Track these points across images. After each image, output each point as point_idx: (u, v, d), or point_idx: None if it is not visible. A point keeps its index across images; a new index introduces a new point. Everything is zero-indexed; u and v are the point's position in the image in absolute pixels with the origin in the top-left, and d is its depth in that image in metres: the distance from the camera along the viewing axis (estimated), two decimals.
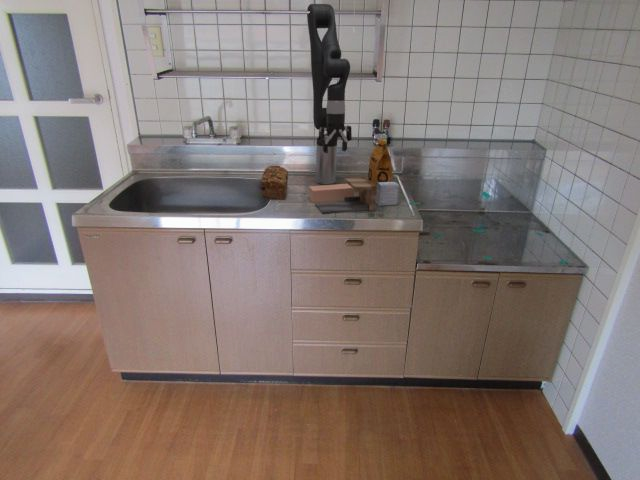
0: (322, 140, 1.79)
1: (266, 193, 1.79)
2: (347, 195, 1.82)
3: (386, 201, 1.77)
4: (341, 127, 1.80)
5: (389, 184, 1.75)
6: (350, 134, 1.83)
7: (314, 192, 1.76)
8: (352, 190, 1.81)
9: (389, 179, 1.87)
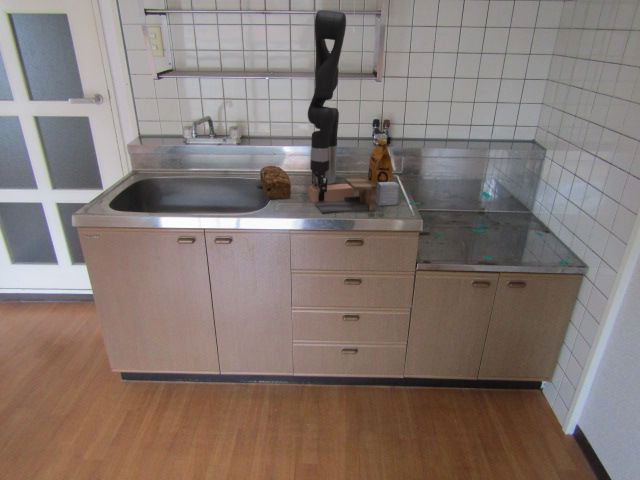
0: None
1: (272, 194, 1.79)
2: (347, 195, 1.82)
3: (386, 201, 1.77)
4: None
5: (389, 184, 1.75)
6: None
7: (314, 192, 1.77)
8: (352, 190, 1.81)
9: (389, 179, 1.87)
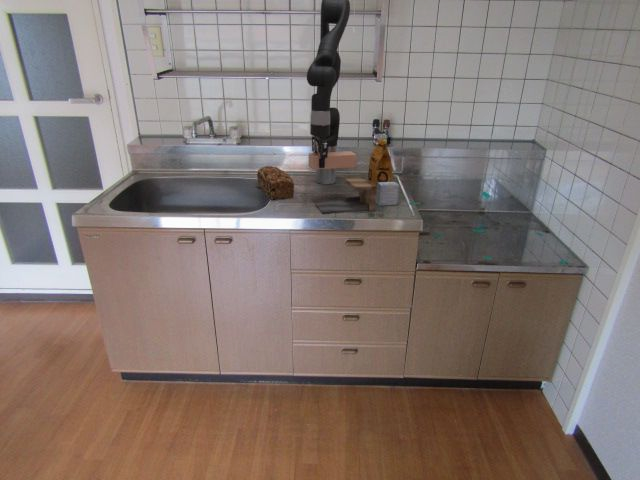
0: None
1: (276, 194, 1.79)
2: (349, 162, 1.74)
3: (386, 201, 1.77)
4: None
5: (389, 184, 1.75)
6: None
7: (314, 158, 1.69)
8: (354, 157, 1.74)
9: (389, 179, 1.87)
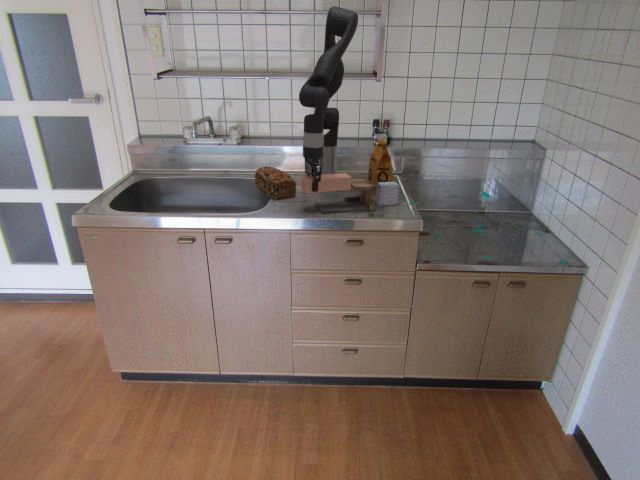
0: None
1: (280, 194, 1.79)
2: (343, 185, 1.67)
3: (386, 201, 1.77)
4: None
5: (389, 184, 1.75)
6: None
7: (307, 182, 1.62)
8: (349, 180, 1.67)
9: (389, 179, 1.87)
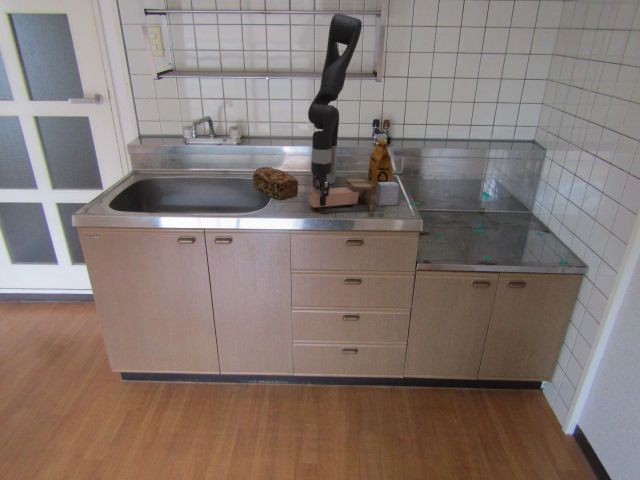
0: None
1: (284, 194, 1.80)
2: (350, 199, 1.70)
3: (386, 201, 1.77)
4: None
5: (389, 184, 1.75)
6: None
7: (315, 196, 1.65)
8: (356, 194, 1.70)
9: (389, 179, 1.87)
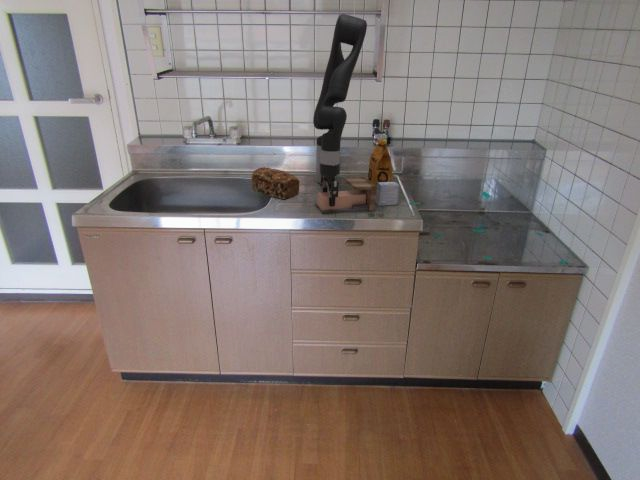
0: None
1: (287, 193, 1.80)
2: (358, 202, 1.72)
3: (386, 201, 1.77)
4: None
5: (389, 184, 1.75)
6: None
7: (324, 199, 1.67)
8: (363, 197, 1.72)
9: (389, 179, 1.87)
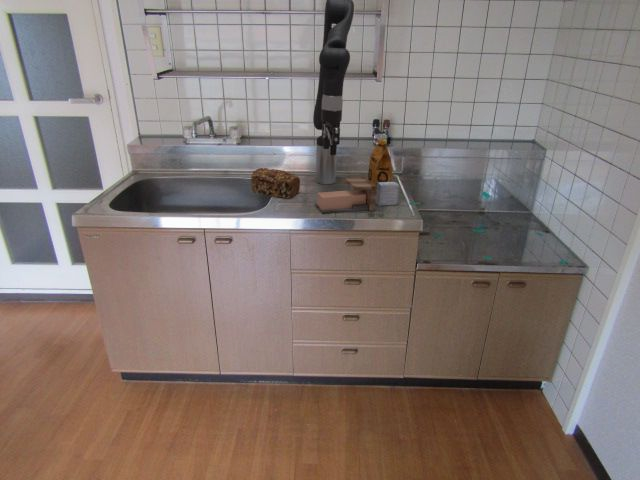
0: None
1: (291, 192, 1.82)
2: (358, 202, 1.72)
3: (386, 201, 1.77)
4: None
5: (389, 184, 1.75)
6: None
7: (324, 199, 1.67)
8: (363, 197, 1.72)
9: (389, 179, 1.87)
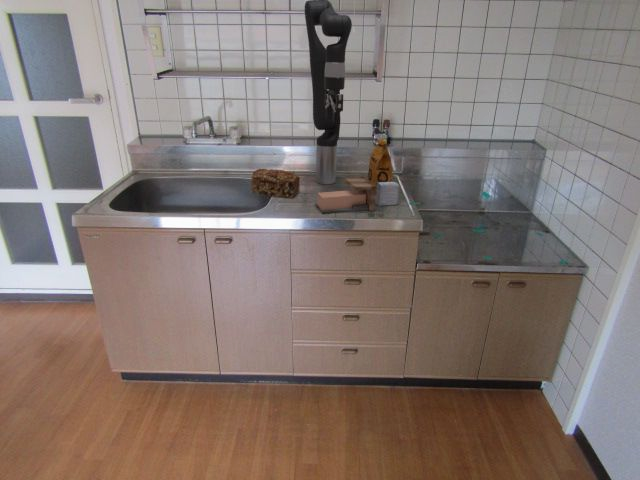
0: None
1: (294, 191, 1.83)
2: (358, 202, 1.72)
3: (386, 201, 1.77)
4: None
5: (389, 184, 1.75)
6: None
7: (324, 199, 1.67)
8: (363, 197, 1.72)
9: (389, 179, 1.87)
